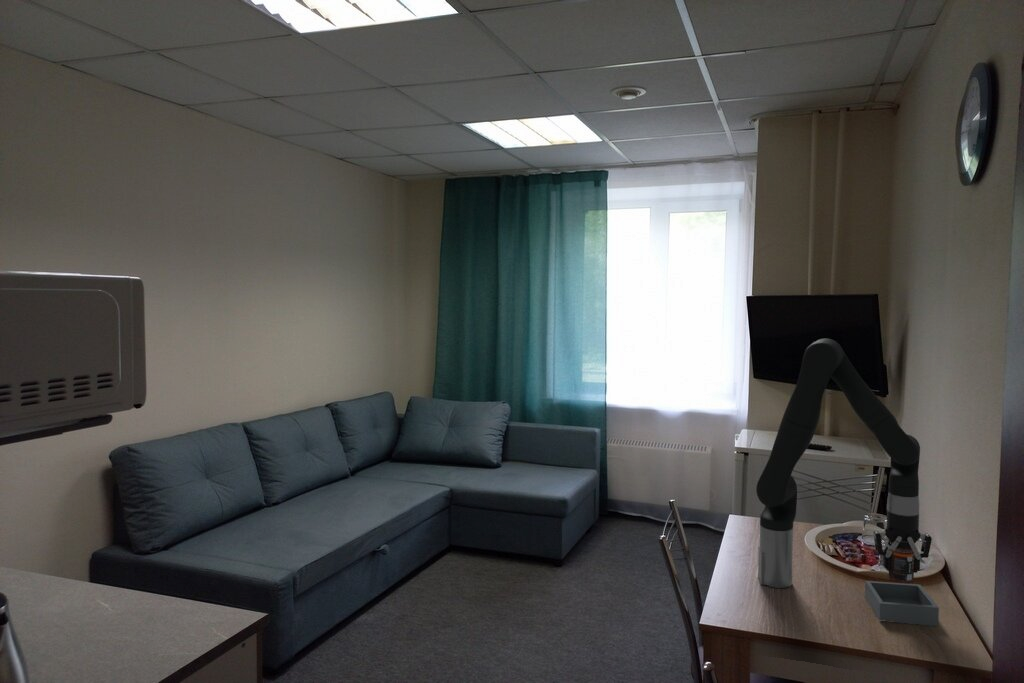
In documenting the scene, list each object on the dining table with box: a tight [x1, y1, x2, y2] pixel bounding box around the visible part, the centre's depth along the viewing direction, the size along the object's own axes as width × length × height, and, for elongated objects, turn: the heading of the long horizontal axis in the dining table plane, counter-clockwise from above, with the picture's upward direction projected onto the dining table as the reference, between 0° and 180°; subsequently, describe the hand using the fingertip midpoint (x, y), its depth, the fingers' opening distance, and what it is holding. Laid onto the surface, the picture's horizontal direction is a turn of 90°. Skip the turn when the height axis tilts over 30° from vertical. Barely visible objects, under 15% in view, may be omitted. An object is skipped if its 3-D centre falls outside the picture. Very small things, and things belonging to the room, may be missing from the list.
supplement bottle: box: [888, 541, 915, 584], centre depth 190 cm, size 6×6×11 cm
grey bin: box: [864, 580, 940, 627], centre depth 191 cm, size 14×14×5 cm
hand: (901, 570), depth 190 cm, fingers closed on supplement bottle, 6 cm apart
